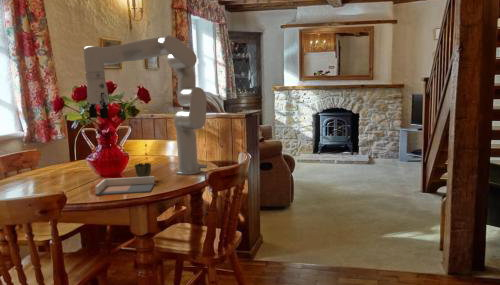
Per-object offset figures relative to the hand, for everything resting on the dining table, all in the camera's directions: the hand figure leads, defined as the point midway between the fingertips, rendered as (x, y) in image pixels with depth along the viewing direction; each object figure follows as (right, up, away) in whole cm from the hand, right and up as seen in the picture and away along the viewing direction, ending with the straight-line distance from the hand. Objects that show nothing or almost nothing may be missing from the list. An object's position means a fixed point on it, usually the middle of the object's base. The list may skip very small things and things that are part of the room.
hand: (98, 117), depth 182 cm
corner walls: (+11, -31, +4) cm, 32 cm away
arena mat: (+11, -31, +4) cm, 32 cm away
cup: (+14, -28, +20) cm, 38 cm away
